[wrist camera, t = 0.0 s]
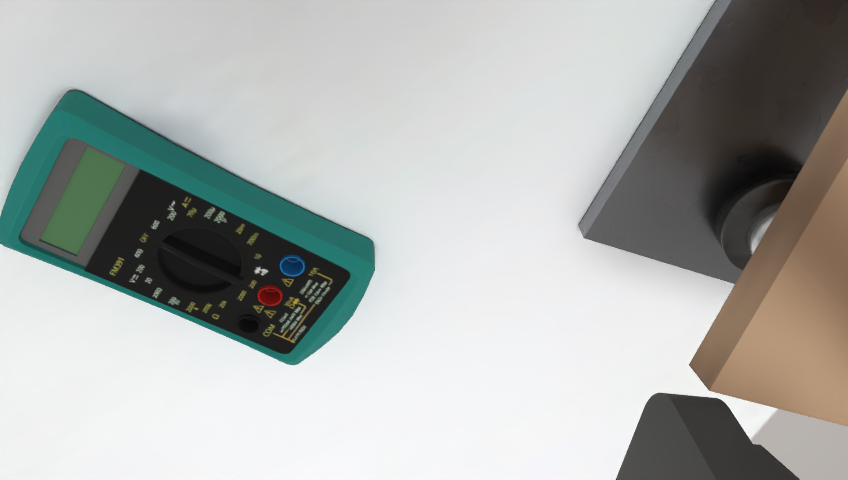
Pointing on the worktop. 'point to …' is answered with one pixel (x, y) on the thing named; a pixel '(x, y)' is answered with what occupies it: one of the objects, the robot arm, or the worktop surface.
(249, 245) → the digital multimeter
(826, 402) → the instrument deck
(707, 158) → the levelling stand
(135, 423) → the worktop surface
